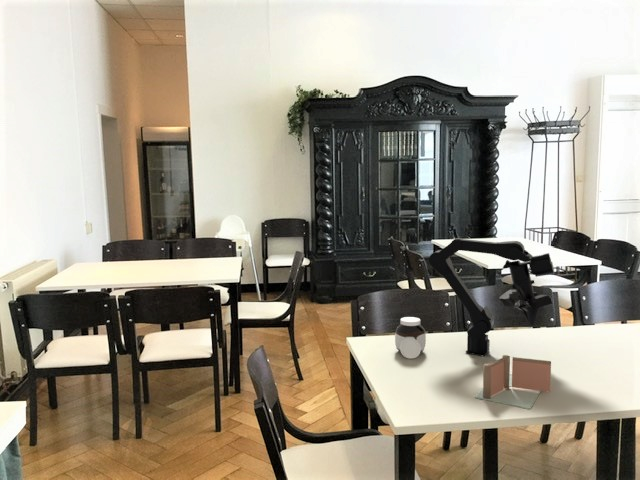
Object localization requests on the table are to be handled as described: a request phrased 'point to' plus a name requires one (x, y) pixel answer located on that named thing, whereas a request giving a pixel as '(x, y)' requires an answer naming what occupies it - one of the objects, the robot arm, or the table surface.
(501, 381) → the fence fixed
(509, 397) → the mat
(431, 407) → the table surface
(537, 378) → the swing panel
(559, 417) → the table surface
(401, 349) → the spread jar
